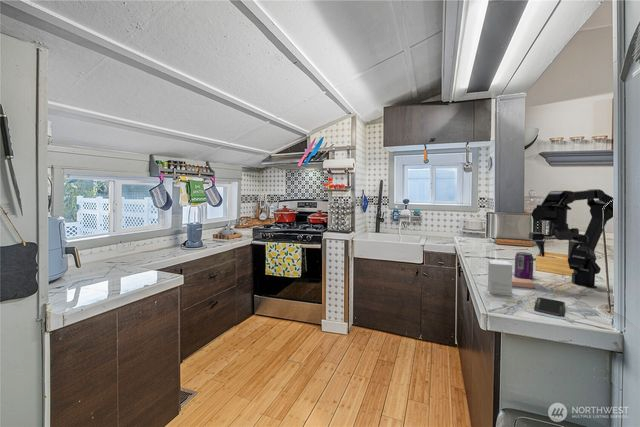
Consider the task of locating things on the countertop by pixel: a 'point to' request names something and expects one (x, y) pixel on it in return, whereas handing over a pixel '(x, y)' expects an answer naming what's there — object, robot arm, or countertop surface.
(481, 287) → the countertop surface
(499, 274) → the supplement box
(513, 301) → the countertop surface
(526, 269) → the beverage can
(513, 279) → the tile
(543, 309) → the phone
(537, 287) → the mat
